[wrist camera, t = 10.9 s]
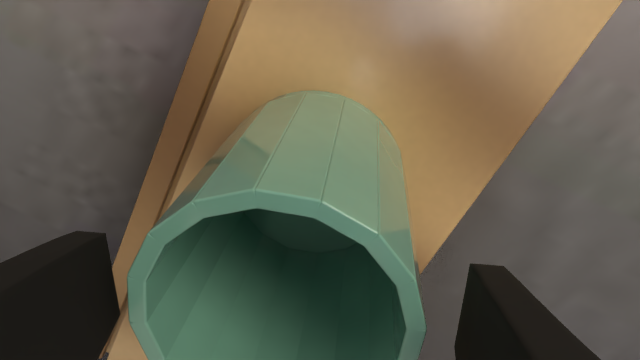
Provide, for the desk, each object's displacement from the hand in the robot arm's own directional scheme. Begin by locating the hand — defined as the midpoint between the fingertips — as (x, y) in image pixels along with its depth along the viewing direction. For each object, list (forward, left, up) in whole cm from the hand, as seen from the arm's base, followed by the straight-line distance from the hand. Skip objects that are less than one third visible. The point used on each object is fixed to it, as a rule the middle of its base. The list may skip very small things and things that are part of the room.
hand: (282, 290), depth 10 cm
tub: (0, 0, -5) cm, 5 cm away
